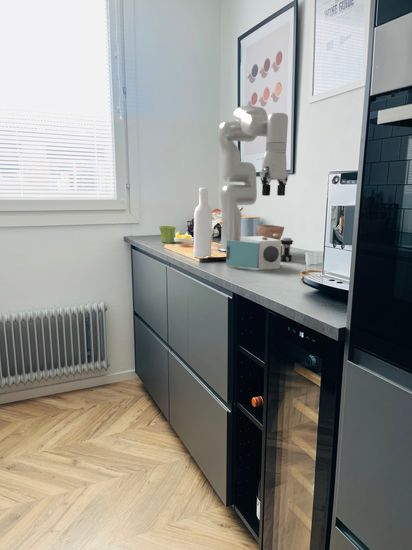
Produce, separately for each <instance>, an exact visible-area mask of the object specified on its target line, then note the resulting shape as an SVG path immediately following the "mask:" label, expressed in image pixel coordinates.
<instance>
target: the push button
mask: <svg viewBox="0 0 412 550" xmlns="http://www.w3.org/2000/svg"><path fill="white" fill-rule="evenodd" d="M280 240H281V245H282V255H280V263H281V262H282V263H284V262H292V260H293V255H292V254H291V246H292V245H293V242H294V240H292V237H282V238H281V239H280Z"/></svg>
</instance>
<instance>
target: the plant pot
mask: <svg viewBox="0 0 412 550" xmlns="http://www.w3.org/2000/svg"><path fill="white" fill-rule="evenodd" d="M158 228H159V230H160V238H161V242H162V243H166V244H171V243H174V238H175V232H176V228H177V226H175V225H161V226H158Z"/></svg>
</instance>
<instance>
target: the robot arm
mask: <svg viewBox="0 0 412 550" xmlns="http://www.w3.org/2000/svg"><path fill="white" fill-rule="evenodd" d="M288 126H289V116H288V114H287V113H284V112H272V113H270V114H268V115H267V110H266V109H264V107H260V106H249V105H241V106H238V107H237V108H236V109H235V110H234V112H233V121H231V120H229V121H228V120H227V121H224V122H222V123H220V124H219V127H218V130H217V131H218V132H217V135H218V136H217V137H218V144H219V146H220V150H221V160H222V161H221V162H222V177H223V180H224V181H226V182H229V183H243V184H225V185H224V186H222V188H221V189H220V202H221V227H220V231H221V233H220V235H221V237H220V238H221V239H220V241H219V244H220V246H218V247H217V251H219V250H221V251H220V252H223V251H226V250H227V240H232V241H240V239H241V237H242V212H241V210H240V208H239V207H238V206H252V205H254V204H255V203H256V201H257V198H258V197H257V193H258V190H257V189H258V188H257V169H256V166H255V165H254V164H253V163H252V162H249V161H241V151H240V149H239V148H238V146H237V145H236V143H234V142H235V141H236V142H247V143H249V142H253V141H255V140H256V138H257V137H263V138H264V137H265V138H266V140H265V141H266V144H265V152H264V154H263V157H262V158H263V159H262V165H261V166H262V168H261V171H259V176H260V181H261V185H262V188H261V189H262V193H261V196H263V197H265V196H271V184H270V183H271V181H275V180H276V182H277V183H278V185H277V191H276V195H277V196H280V197H281V196H283V197H284V196H286V185H287V182H288V179H289V175H290V174H289V172H288V171H287V147H288V146H287V145H288V144H287V143H288Z"/></svg>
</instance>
